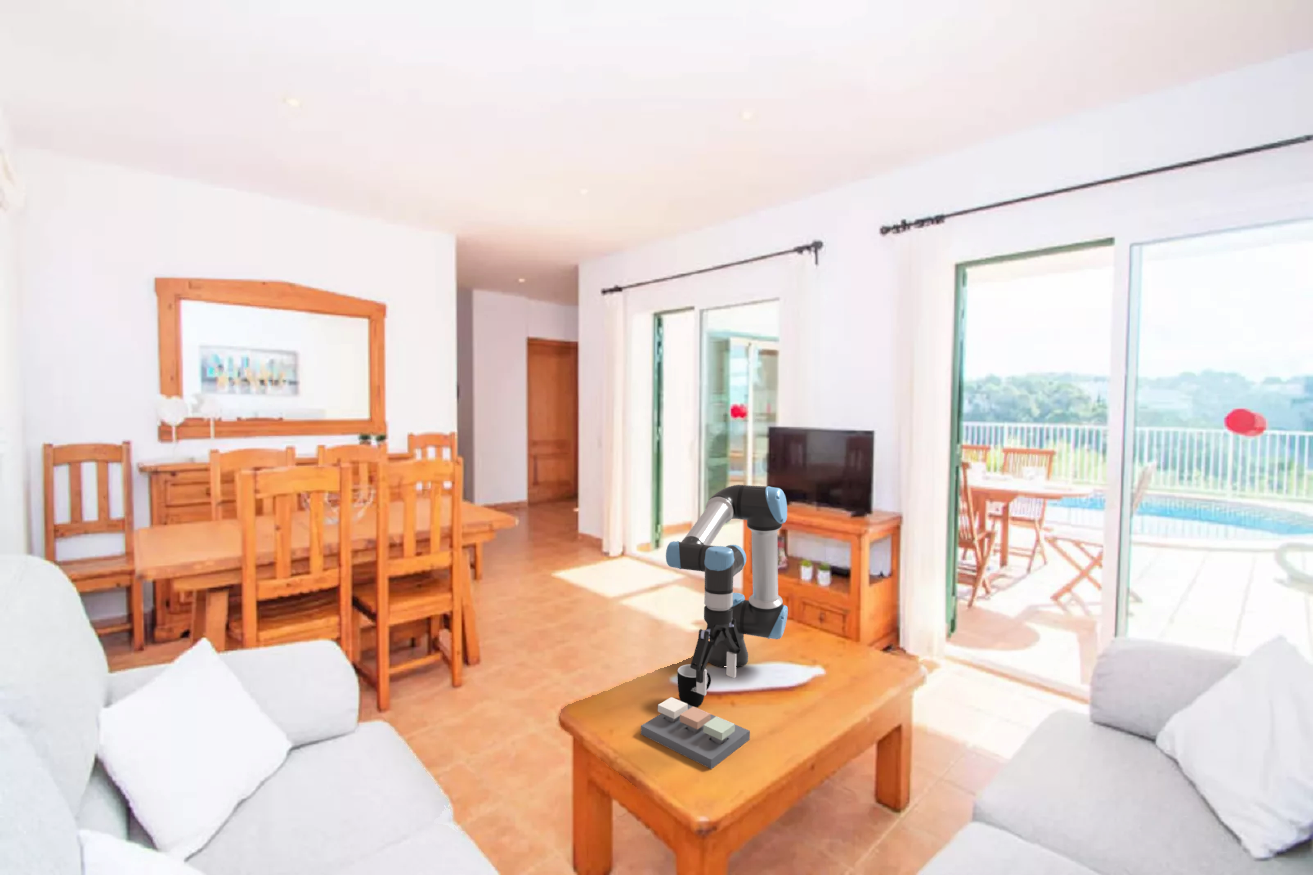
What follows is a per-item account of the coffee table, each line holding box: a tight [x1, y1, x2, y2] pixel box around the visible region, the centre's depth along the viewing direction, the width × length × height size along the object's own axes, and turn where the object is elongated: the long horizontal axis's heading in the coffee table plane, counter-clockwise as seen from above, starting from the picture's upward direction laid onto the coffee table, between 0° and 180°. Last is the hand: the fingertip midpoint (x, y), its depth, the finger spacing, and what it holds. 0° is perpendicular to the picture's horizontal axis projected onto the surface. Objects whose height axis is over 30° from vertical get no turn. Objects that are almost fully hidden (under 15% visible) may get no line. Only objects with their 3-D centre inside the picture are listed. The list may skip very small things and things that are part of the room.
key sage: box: [703, 715, 736, 745], centre depth 163 cm, size 6×6×4 cm
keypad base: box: [640, 705, 751, 770], centre depth 169 cm, size 18×24×2 cm
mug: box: [676, 663, 712, 708], centre depth 188 cm, size 12×9×10 cm
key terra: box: [680, 706, 711, 734], centre depth 168 cm, size 6×6×4 cm
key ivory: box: [657, 696, 688, 723], centre depth 174 cm, size 6×6×4 cm
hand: (716, 684), depth 163 cm, fingers open, 13 cm apart
